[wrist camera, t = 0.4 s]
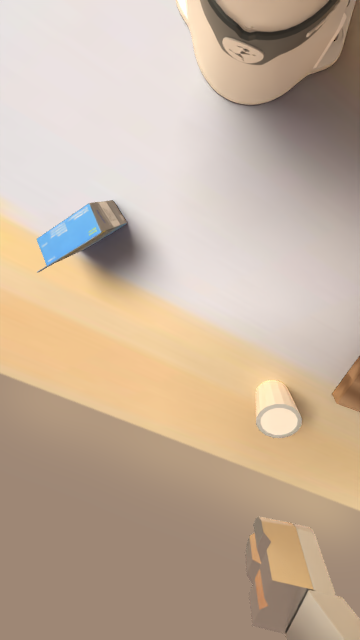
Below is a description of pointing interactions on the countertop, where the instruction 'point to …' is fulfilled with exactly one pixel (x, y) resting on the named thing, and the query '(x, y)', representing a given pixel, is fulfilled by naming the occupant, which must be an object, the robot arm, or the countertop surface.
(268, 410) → the white cup
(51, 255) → the label tape cartridge
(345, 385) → the board
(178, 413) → the countertop surface
